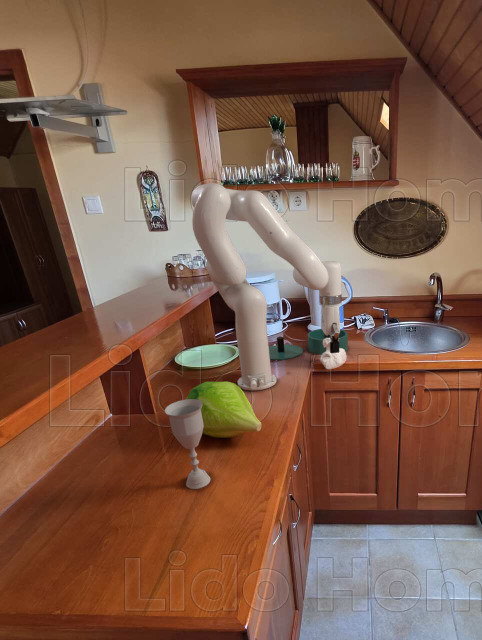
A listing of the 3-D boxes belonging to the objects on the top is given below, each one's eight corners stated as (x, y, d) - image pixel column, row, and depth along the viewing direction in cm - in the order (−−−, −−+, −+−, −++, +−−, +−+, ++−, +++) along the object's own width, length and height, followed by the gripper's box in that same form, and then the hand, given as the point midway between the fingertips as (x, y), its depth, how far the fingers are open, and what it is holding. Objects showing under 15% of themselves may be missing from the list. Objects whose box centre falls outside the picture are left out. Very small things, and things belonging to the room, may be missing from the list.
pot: (352, 353, 161) (351, 337, 158) (311, 357, 158) (311, 341, 155) (342, 341, 175) (342, 326, 172) (305, 345, 172) (304, 330, 169)
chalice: (203, 467, 95) (190, 396, 87) (222, 479, 91) (209, 404, 83) (174, 483, 90) (157, 409, 82) (192, 496, 86) (176, 419, 78)
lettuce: (278, 435, 111) (238, 470, 101) (216, 401, 120) (174, 430, 109) (279, 392, 103) (235, 426, 92) (212, 358, 111) (165, 386, 100)
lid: (306, 359, 157) (305, 342, 154) (261, 363, 154) (259, 346, 151) (299, 345, 172) (298, 329, 169) (258, 349, 169) (256, 333, 166)
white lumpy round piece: (343, 366, 155) (329, 340, 156) (355, 358, 149) (340, 330, 150) (320, 376, 147) (305, 348, 148) (332, 368, 141) (317, 339, 142)
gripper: (315, 295, 147) (316, 341, 154) (324, 306, 132) (326, 357, 139) (335, 293, 149) (336, 340, 156) (347, 304, 133) (348, 355, 140)
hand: (331, 348), depth 147 cm, fingers open, 9 cm apart
